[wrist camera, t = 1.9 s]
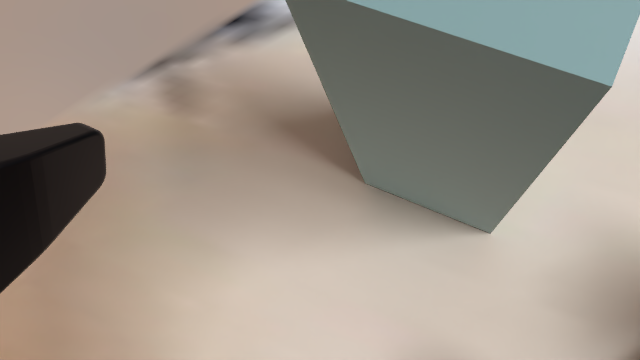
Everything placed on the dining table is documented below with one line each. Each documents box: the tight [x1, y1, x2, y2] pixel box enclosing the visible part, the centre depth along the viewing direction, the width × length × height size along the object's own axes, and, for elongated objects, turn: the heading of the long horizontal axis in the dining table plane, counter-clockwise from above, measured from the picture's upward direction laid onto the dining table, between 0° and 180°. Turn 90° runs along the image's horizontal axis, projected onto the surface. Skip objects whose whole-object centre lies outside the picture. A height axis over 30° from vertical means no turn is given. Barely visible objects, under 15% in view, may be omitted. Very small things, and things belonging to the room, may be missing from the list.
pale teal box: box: [286, 0, 640, 233], centre depth 14 cm, size 3×4×13 cm, turn 66°
